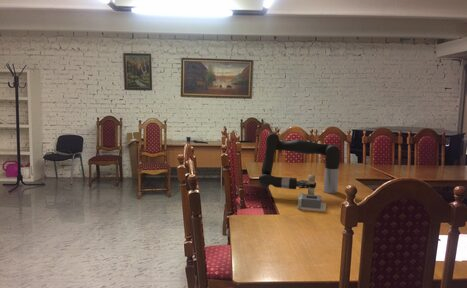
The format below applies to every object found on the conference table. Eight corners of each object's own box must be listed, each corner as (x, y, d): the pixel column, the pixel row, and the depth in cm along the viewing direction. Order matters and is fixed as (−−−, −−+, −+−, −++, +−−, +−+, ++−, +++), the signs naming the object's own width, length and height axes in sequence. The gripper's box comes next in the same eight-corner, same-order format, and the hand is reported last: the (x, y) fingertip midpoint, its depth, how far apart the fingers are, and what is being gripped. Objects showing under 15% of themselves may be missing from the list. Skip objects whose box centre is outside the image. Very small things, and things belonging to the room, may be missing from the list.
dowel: (307, 198, 238) (308, 174, 236) (314, 198, 237) (315, 174, 235) (307, 199, 234) (308, 175, 232) (313, 200, 233) (314, 176, 231)
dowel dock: (299, 202, 229) (300, 193, 228) (326, 204, 224) (326, 195, 224) (297, 208, 215) (298, 199, 215) (325, 211, 211) (325, 201, 210)
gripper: (287, 179, 231) (315, 182, 226) (290, 175, 245) (316, 177, 240) (287, 191, 232) (314, 193, 227) (290, 186, 246) (316, 188, 241)
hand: (315, 185), depth 234 cm, fingers closed on dowel, 4 cm apart
